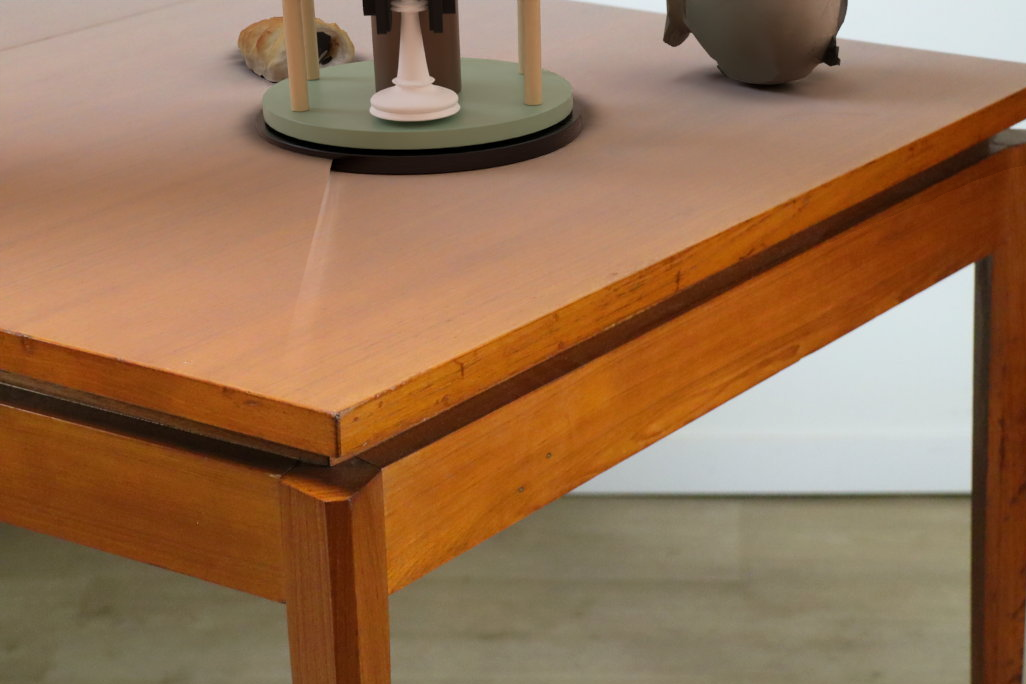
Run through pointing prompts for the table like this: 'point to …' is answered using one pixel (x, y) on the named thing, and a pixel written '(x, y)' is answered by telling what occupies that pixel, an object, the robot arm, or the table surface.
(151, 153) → the table surface
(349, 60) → the pastry
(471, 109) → the rack
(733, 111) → the table surface
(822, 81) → the table surface
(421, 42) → the chess piece
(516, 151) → the rack base
